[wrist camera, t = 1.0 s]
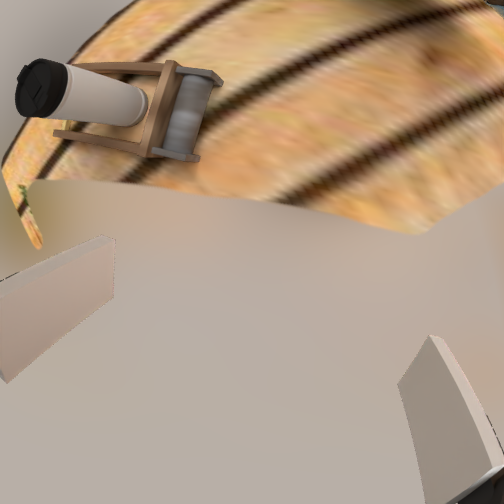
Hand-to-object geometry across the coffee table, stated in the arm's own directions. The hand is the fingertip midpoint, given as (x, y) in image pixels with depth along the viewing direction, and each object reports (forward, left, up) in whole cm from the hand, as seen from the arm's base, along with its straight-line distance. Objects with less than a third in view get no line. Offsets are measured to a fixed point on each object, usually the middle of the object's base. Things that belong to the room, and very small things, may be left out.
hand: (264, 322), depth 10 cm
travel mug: (-8, -27, -27) cm, 40 cm away
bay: (-8, -28, -27) cm, 40 cm away
